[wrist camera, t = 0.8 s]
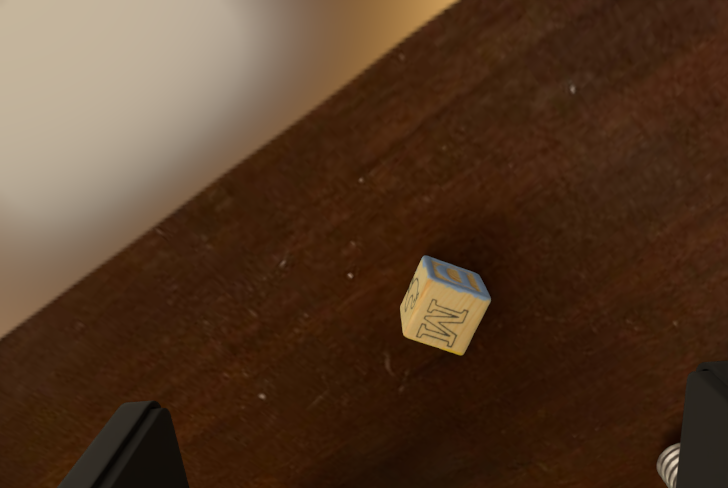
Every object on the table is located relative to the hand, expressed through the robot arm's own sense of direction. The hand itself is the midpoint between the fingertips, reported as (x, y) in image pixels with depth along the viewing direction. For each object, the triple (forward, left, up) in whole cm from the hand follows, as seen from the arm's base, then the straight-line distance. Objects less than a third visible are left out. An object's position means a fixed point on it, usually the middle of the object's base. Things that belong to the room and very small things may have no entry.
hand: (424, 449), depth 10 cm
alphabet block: (-1, +4, -16) cm, 17 cm away
